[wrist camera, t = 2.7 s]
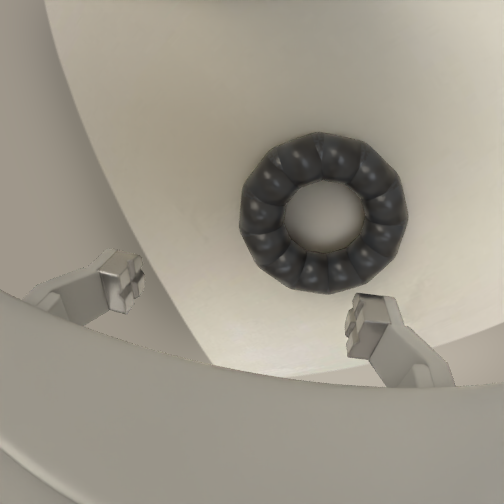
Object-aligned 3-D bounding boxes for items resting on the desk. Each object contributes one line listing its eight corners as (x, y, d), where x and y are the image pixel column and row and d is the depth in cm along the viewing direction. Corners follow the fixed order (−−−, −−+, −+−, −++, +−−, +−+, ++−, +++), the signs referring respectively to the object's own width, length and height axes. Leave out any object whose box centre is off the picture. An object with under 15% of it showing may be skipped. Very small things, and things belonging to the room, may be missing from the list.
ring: (238, 265, 21) (231, 287, 18) (252, 120, 16) (244, 124, 13) (373, 286, 20) (380, 310, 18) (415, 153, 15) (432, 162, 12)
